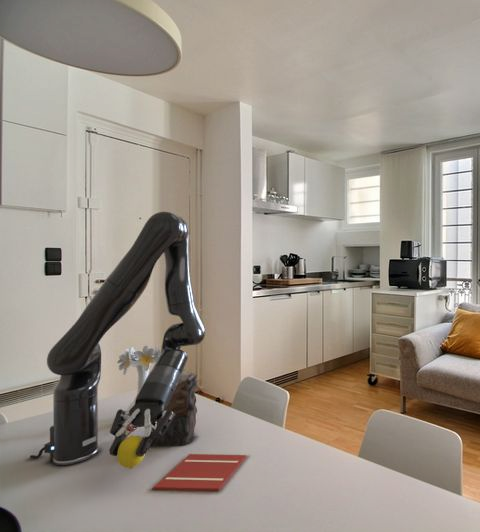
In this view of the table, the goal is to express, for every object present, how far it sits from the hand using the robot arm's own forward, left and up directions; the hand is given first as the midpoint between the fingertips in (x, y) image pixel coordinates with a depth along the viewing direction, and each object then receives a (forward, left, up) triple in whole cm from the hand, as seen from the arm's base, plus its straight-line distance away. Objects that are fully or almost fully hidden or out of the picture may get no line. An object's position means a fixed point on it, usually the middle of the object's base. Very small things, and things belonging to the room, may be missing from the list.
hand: (126, 455), depth 86 cm
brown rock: (-6, +27, -10) cm, 29 cm away
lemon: (0, +2, -4) cm, 5 cm away
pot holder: (+13, +10, -9) cm, 19 cm away
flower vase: (-26, +41, -10) cm, 49 cm away
